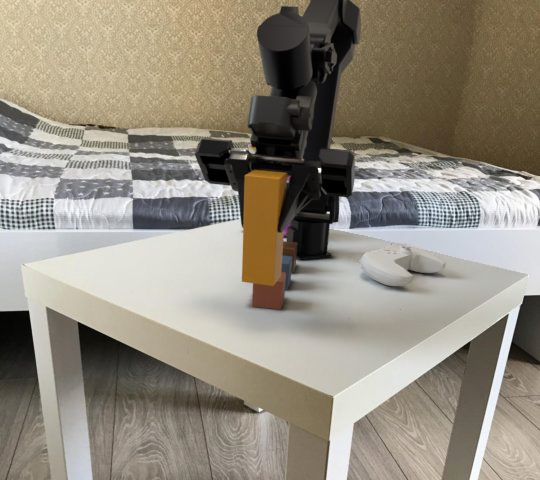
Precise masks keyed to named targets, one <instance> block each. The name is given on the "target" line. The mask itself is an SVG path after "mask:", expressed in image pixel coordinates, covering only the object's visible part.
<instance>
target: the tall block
mask: <svg viewBox="0 0 540 480" xmlns="http://www.w3.org/2000/svg"><path fill="white" fill-rule="evenodd" d="M286 188H287V173H283V172H273V171H262V170H253V171H252V172H250V173H248V174H246V175H245V188H244V222H243V228H242V229H243V231H242V233H243V234H242V256H241V257H242V258H241V259H242V261H241V282H242V283H247V284H248V283H249V284H253V283H255V284H262V285H270V286H274V285H275V283H276V282H277V281H278V279H279V278H280V276H281V269H282V253H283V241H284V238H285V237H284V230H283V232H282V233H279V232H278V222H279V217H280V212H281V209H282V206H283V203H284V200H285V197H286Z"/></svg>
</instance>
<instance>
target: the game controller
mask: <svg viewBox="0 0 540 480" xmlns="http://www.w3.org/2000/svg"><path fill="white" fill-rule="evenodd" d="M358 263H359V265H360V267H361V269H362V270H363V272H364V273H365V274H366V275H367V276H368V277H369V278H371V279H372V280H374V281H376V282H377V283H379V284H383V285H385V286H390V287H402V286H405V285H408V284H410V283H412V281H413V278H414V277H413V274H411V273H410V272H409V271H412V272H416V273H424V274H432V273H438V272H440V271H442V270H444V269H445V268H446V265H447V260H445V259H444V258H442V257H441V256H440V255H437V254H436V253H433V252H431V251H428V250H426V249H423V248H419V247H416V246H413V245H411V244H407V243H401V242H395V243H391V245H388V246H382V247H381V248H379V249H375V250H368V251H366V252H364V253H363V255H362V256H361V258H360V259H359V260H358Z"/></svg>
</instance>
